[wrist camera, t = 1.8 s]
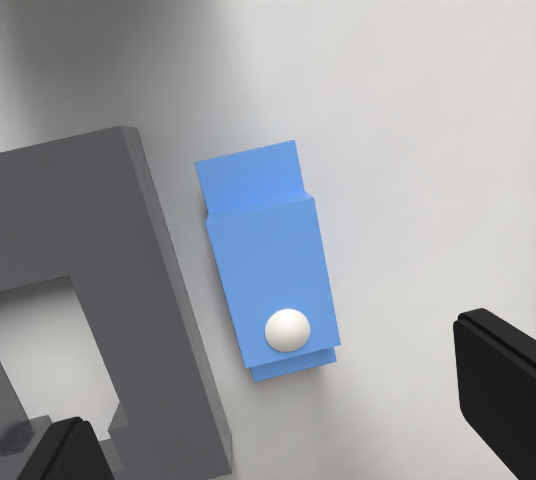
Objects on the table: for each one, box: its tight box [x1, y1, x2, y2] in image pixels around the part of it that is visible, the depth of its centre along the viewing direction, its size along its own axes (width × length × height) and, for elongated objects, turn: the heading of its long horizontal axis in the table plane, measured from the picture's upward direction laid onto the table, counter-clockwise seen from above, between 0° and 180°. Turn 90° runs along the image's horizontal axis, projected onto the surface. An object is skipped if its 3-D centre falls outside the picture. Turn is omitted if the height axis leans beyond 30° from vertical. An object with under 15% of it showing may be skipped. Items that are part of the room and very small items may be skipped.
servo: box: [195, 140, 341, 382], centre depth 18 cm, size 4×12×6 cm, turn 12°
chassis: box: [0, 126, 232, 480], centre depth 20 cm, size 16×20×3 cm
